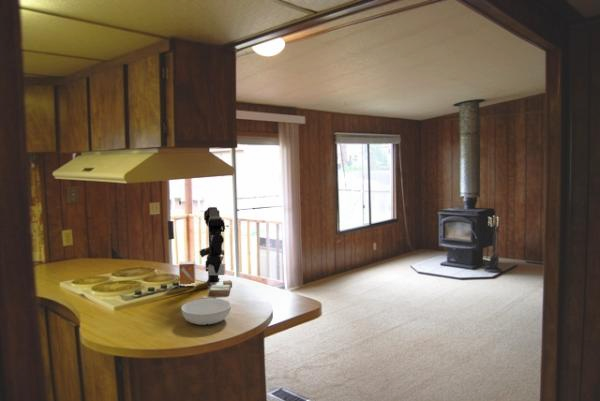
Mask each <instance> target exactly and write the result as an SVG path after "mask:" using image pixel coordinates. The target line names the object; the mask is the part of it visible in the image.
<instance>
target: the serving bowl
mask: <svg viewBox="0 0 600 401" xmlns="http://www.w3.org/2000/svg"><path fill="white" fill-rule="evenodd" d="M180 309H181V313H182V317H183V318H184V319H185V320H186V321H188V322H189V323H191V324H195V325H200V326H201V325H202V326H203V325H205V326H207V325H206V324H208V325H213V324H216V323H217V324H218V323H220V322H222V321H223V320H225V319H226V318H227V317H229V316H228V315H230V313H231V309H232V303H231V302H230V301H229V300H225V299H223V298H222V299H221V298H212V297H211V298H200V299H199V298H198V299H195V300H191V301H188V302H186V303H184V304H183V305H182V306H181V308H180Z"/></svg>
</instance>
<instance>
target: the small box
mask: <svg viewBox="0 0 600 401" xmlns="http://www.w3.org/2000/svg"><path fill="white" fill-rule="evenodd" d="M178 266H179V270H178V271H179V272H178V273H179V285H180V284H191V283H195V281H196V282H197V278H196V261H181V262H179V264H178Z"/></svg>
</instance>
